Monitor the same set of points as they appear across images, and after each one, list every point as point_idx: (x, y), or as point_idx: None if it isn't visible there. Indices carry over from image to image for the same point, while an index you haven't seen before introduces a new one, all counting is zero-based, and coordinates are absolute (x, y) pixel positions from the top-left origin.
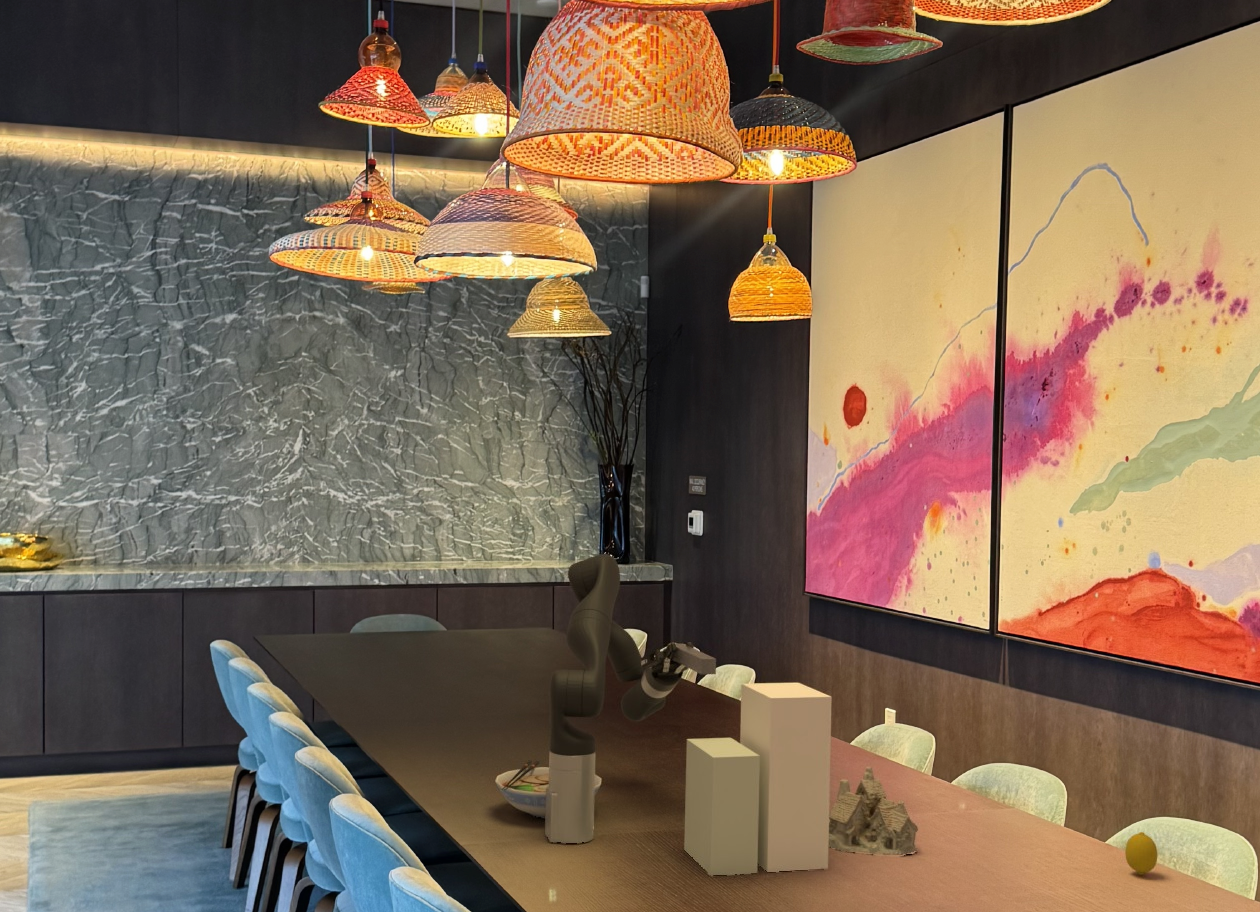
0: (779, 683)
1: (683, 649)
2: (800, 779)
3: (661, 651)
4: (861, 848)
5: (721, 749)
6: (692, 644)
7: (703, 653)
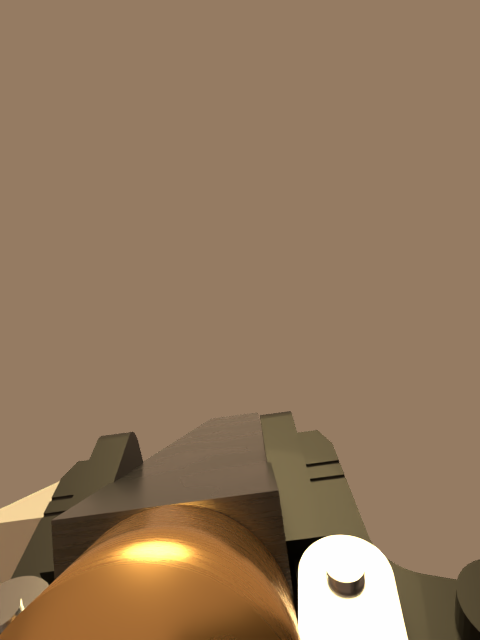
0: (28, 517)
1: (248, 433)
2: None
3: (425, 579)
4: None
5: None
6: (84, 461)
7: (198, 427)
